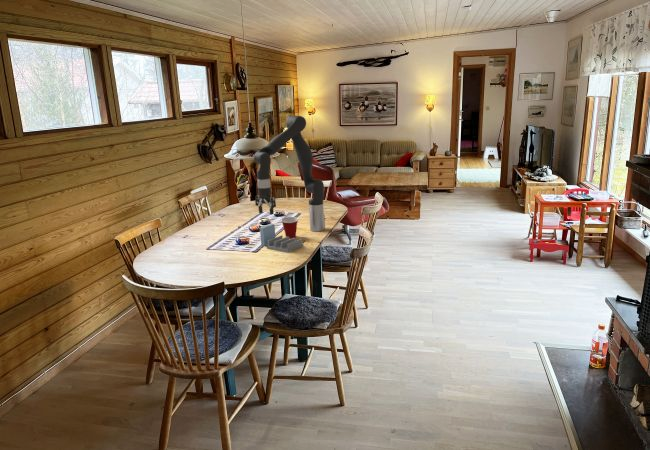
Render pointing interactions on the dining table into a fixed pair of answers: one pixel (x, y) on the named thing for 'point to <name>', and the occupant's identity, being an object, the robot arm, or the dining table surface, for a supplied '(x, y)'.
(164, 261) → the dining table surface
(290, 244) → the dish rack
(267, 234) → the rectangular block
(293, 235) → the plastic cup
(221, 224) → the dining table surface
